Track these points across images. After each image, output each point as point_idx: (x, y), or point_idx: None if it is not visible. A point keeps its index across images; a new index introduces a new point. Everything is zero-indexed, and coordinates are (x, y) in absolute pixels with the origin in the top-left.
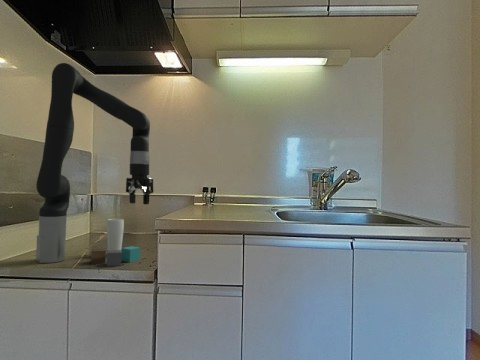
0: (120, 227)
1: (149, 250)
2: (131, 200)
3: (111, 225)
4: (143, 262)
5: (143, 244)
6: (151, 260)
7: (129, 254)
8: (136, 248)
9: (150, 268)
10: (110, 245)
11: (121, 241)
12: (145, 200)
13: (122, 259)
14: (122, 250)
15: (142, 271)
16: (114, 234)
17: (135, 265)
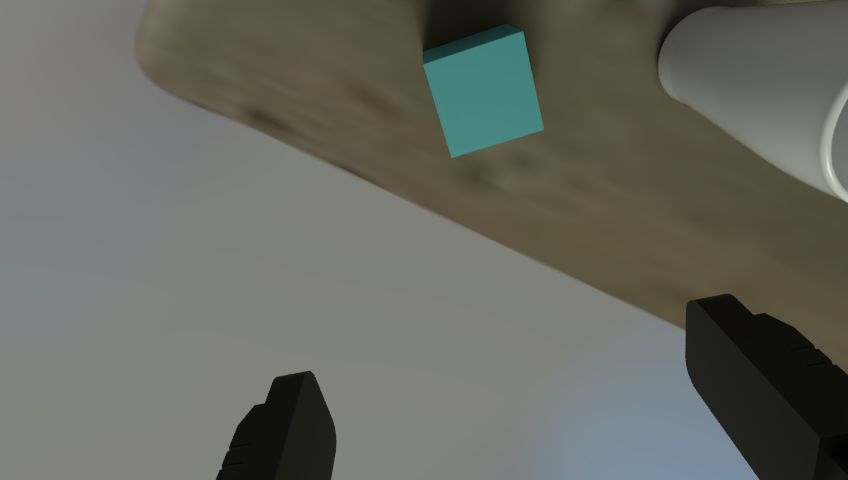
0: (764, 122)
1: (653, 292)
2: (718, 341)
3: (844, 26)
4: (372, 122)
5: (838, 339)
6: (395, 184)
7: (429, 56)
8: (441, 123)
9: (203, 88)
10: (727, 15)
11: (702, 112)
12: (254, 439)
13: (494, 28)
14: (508, 33)
15: (149, 12)
16: (749, 49)
17: (321, 45)
